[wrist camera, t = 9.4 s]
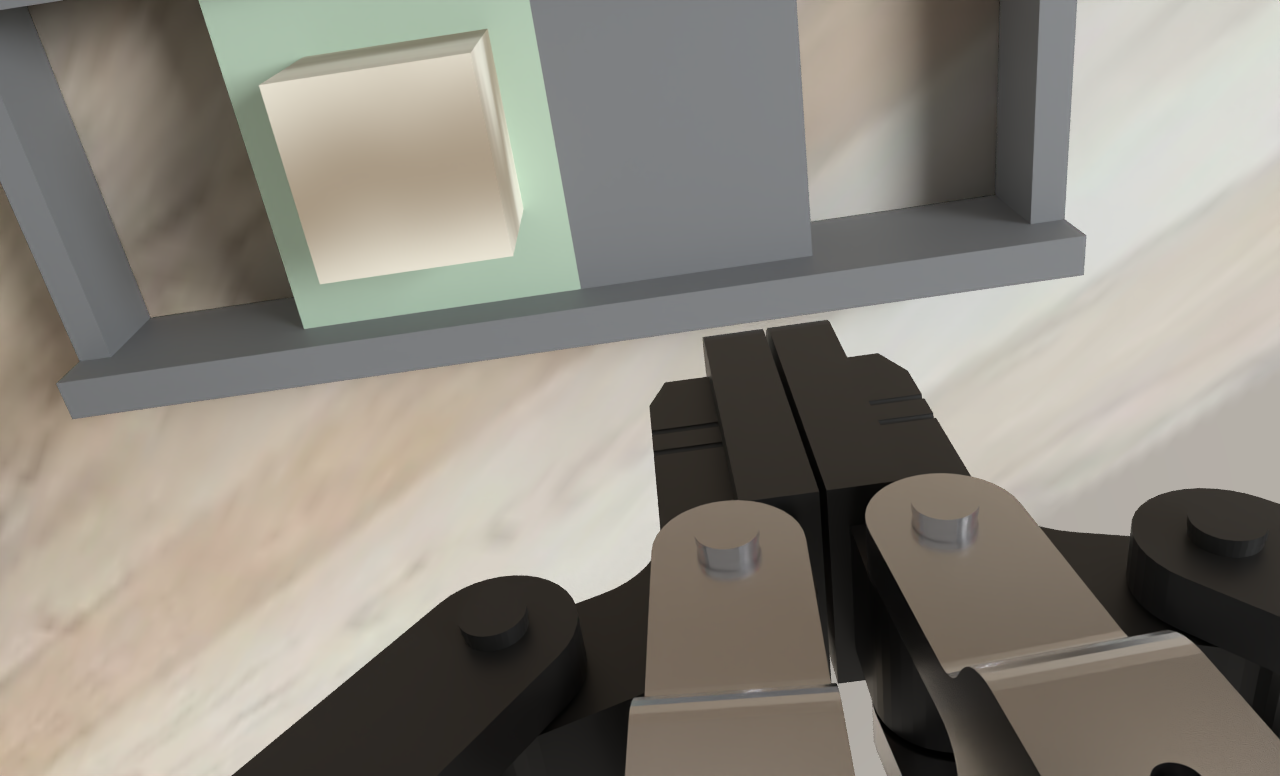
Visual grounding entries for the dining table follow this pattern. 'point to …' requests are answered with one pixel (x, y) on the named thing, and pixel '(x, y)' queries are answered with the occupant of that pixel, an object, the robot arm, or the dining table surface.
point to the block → (398, 156)
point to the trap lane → (545, 196)
